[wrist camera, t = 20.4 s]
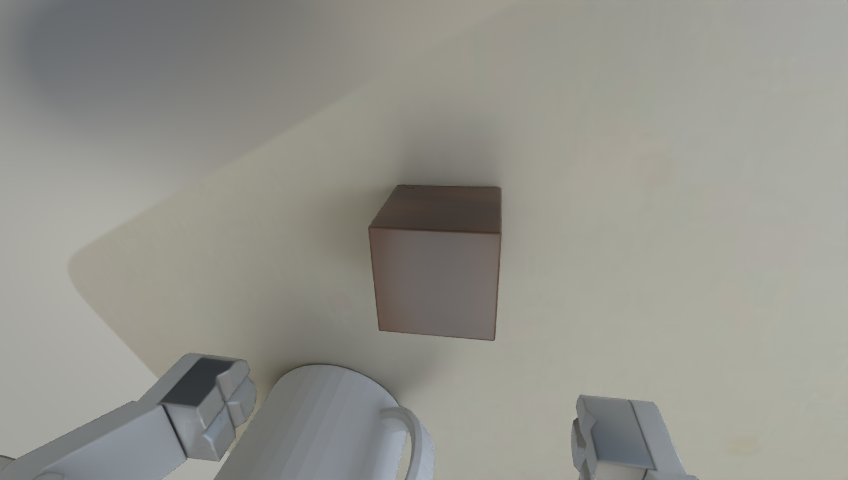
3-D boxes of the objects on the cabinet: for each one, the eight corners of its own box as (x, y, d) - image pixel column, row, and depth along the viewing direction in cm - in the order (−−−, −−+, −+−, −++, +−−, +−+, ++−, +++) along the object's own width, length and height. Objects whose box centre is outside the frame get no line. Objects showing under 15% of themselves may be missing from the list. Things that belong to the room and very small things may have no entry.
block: (403, 271, 20) (378, 331, 16) (397, 184, 18) (367, 227, 14) (496, 277, 19) (495, 341, 15) (501, 187, 17) (501, 232, 13)
